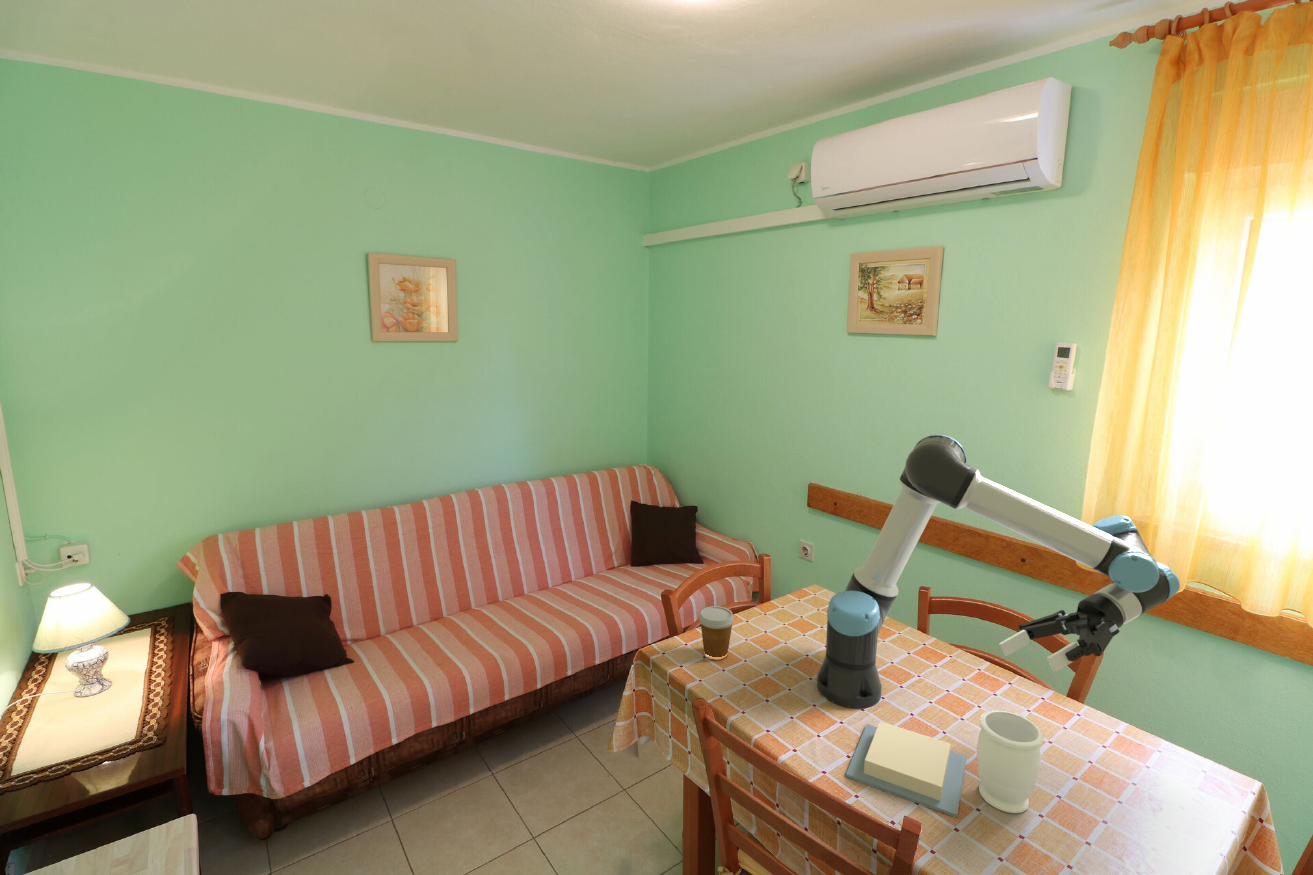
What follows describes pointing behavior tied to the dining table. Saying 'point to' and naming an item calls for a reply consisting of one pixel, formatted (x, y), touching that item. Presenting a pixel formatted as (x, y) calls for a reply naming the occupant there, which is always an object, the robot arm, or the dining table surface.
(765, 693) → the dining table surface
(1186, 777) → the dining table surface
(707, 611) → the disposable coffee cup
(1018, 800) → the jar
